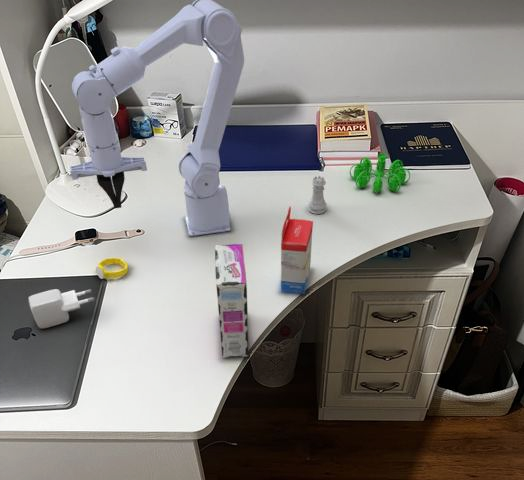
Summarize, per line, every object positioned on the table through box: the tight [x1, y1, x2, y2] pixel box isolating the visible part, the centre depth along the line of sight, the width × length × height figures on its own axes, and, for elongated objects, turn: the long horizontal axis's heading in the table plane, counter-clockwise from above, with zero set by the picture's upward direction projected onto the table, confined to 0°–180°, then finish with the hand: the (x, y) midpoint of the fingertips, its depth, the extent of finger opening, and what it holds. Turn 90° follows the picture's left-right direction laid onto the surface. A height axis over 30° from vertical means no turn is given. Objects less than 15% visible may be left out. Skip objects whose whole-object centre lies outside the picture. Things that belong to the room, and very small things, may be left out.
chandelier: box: [349, 153, 411, 194], centre depth 134 cm, size 15×15×7 cm
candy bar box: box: [214, 243, 250, 359], centre depth 92 cm, size 11×5×16 cm, turn 5°
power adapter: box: [28, 288, 95, 329], centre depth 100 cm, size 11×5×6 cm, turn 115°
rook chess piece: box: [307, 175, 327, 215], centre depth 125 cm, size 4×4×8 cm
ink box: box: [280, 205, 314, 295], centre depth 103 cm, size 8×5×15 cm, turn 169°
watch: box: [95, 257, 129, 280], centre depth 111 cm, size 6×3×6 cm
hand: (117, 205), depth 112 cm, fingers closed
